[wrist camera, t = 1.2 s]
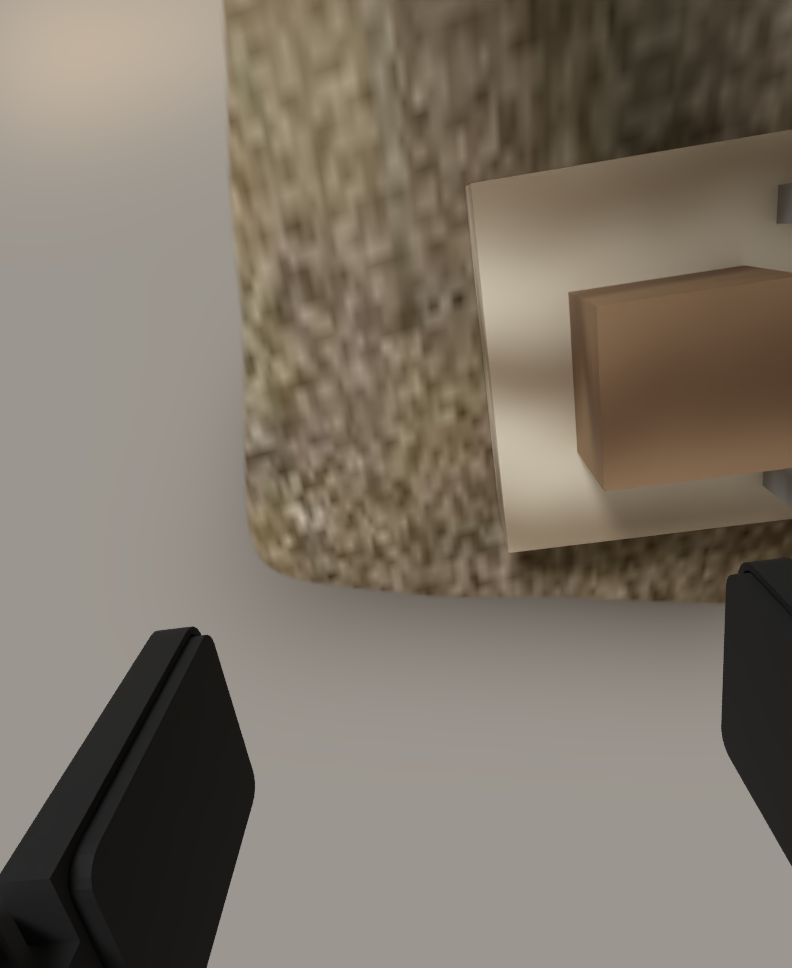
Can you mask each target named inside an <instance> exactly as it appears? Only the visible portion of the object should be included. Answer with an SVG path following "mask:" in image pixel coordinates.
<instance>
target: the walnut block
mask: <svg viewBox="0 0 792 968" xmlns="http://www.w3.org/2000/svg"><path fill="white" fill-rule="evenodd" d="M568 296H569V313H570V331H571V349H572V367H573V384H574V402H575V420H576V438H577V452H578V454H579V455H580V457H581V458H582V460H583V461H584V463H585V464H586V465H587V467H588V468H589V470H590V471H591V473H592V474H593V476H594V477H595V479H596V480H597V482H598V483H599V485H600V486H601V488H602V489H603V491H604V492H606V491H614V490H622V489H629V488H637V487H645V486H653V485H661V484H669V483H677V482H685V481H693V480H701V479H708V478H716V477H724V476H732V475H740V474H748V473H756V472H764V471H772V470H779V469H787V468H792V272H785V271H778V270H772V269H765V268H759V267H752V266H745V265H743V266H737V267H730V268H724V269H717V270H710V271H704V272H697V273H691V274H684V275H678V276H671V277H665V278H658V279H651V280H645V281H638V282H632V283H625V284H619V285H612V286H605V287H599V288H592V289H586V290H579V291H573V292H568Z"/></svg>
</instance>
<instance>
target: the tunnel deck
mask: <svg viewBox="0 0 792 968" xmlns="http://www.w3.org/2000/svg"><path fill="white" fill-rule="evenodd" d="M465 193H466V203H467V212H468V222H469V231H470V241H471V250H472V260H473V269H474V279H475V288H476V298H477V307H478V317H479V326H480V336H481V345H482V354H483V364H484V373H485V383H486V392H487V402H488V411H489V421H490V430H491V440H492V449H493V459H494V468H495V478H496V487H497V497H498V506H499V515H500V523H501V527H502V531H503V534H504V538H505V542H506V545H507V549H508V553H512V552H521V551H529V550H537V549H545V548H554V547H562V546H570V545H579V544H587V543H595V542H604V541H612V540H620V539H628V538H637V537H645V536H653V535H662V534H670V533H678V532H687V531H695V530H703V529H711V528H720V527H728V526H736V525H745V524H753V523H761V522H770V521H778V520H786V519H792V468H787V469H779V470H772V471H764V472H756V473H748V474H740V475H732V476H724V477H716V478H708V479H701V480H693V481H685V482H677V483H669V484H661V485H653V486H645V487H637V488H629V489H622V490H614V491H606V492H604V491H603V489H602V488H601V486H600V485H599V483H598V482H597V480H596V479H595V477H594V476H593V474H592V473H591V471H590V470H589V468H588V467H587V465H586V464H585V463H584V461H583V460H582V458H581V457H580V455H579V454H578V452H577V438H576V420H575V402H574V384H573V367H572V349H571V331H570V313H569V296H568V292H573V291H579V290H586V289H592V288H599V287H605V286H612V285H619V284H625V283H632V282H638V281H645V280H651V279H658V278H665V277H671V276H678V275H684V274H691V273H697V272H704V271H710V270H717V269H724V268H730V267H737V266H743V265H745V266H752V267H759V268H765V269H772V270H778V271H785V272H792V129H791V130H785V131H779V132H773V133H767V134H761V135H755V136H749V137H743V138H737V139H731V140H726V141H720V142H714V143H708V144H702V145H696V146H690V147H684V148H678V149H672V150H666V151H660V152H654V153H648V154H642V155H636V156H630V157H624V158H618V159H612V160H607V161H601V162H595V163H589V164H583V165H577V166H571V167H565V168H559V169H553V170H547V171H541V172H535V173H529V174H523V175H517V176H511V177H505V178H499V179H493V180H488V181H482V182H476V183H470V184H469V185H467V186H466V187H465Z"/></svg>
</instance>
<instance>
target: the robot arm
mask: <svg viewBox="0 0 792 968" xmlns="http://www.w3.org/2000/svg"><path fill="white" fill-rule="evenodd" d="M721 729H722V737H723V742H724V745H725V748H726V751H727V753H728V755H729V757H730V759H731V761H732V763H733V764H734V766H735V768H736V770H737V771H738V773H739V775H740V777H741V778H742V780H743V782H744V784H745V785H746V787H747V789H748V791H749V792H750V794H751V796H752V798H753V799H754V801H755V803H756V805H757V806H758V808H759V810H760V811H761V813H762V815H763V817H764V819H765V820H766V822H767V824H768V825H769V827H770V829H771V831H772V832H773V834H774V836H775V838H776V840H777V841H778V843H779V845H780V846H781V848H782V850H783V852H784V853H785V855H786V857H787V859H788V860H789V862H790V864H791V866H792V560H791V559H790V558H780V559H772V560H763V561H754V562H746V563H743V564H742V565H741V566H740V569H739V572H738V574H734V575H730V576H729V577H728V579H727V583H726V605H725V634H724V664H723V693H722V725H721ZM254 792H255V780H254V774H253V770H252V766H251V763H250V760H249V757H248V753H247V750H246V747H245V743H244V740H243V737H242V734H241V730H240V727H239V724H238V720H237V717H236V714H235V710H234V707H233V704H232V700H231V697H230V694H229V691H228V687H227V684H226V681H225V678H224V674H223V671H222V668H221V665H220V661H219V658H218V654H217V651H216V648H215V644H214V642H213V640H212V638H211V637H210V636H209V635H202V636H201V633H200V632H199V630H198V629H197V628H195V627H186V628H177V629H168V630H160V631H156V632H154V633H153V634H152V635H151V637H150V638H149V640H148V641H147V643H146V645H145V646H144V648H143V649H142V651H141V652H140V654H139V655H138V657H137V659H136V660H135V662H134V663H133V665H132V667H131V668H130V670H129V671H128V673H127V675H126V676H125V678H124V679H123V681H122V682H121V684H120V685H119V687H118V689H117V690H116V692H115V694H114V695H113V697H112V698H111V700H110V701H109V703H108V704H107V706H106V708H105V709H104V711H103V712H102V714H101V715H100V717H99V719H98V721H97V722H96V723H95V725H94V727H93V728H92V730H91V731H90V733H89V735H88V736H87V738H86V739H85V741H84V743H83V744H82V746H81V747H80V749H79V750H78V752H77V754H76V755H75V756H74V758H73V760H72V762H71V763H70V764H69V766H68V768H67V769H66V771H65V772H64V774H63V776H62V777H61V779H60V780H59V782H58V783H57V785H56V786H55V788H54V790H53V791H52V793H51V794H50V796H49V798H48V799H47V801H46V802H45V804H44V805H43V807H42V809H41V810H40V812H39V813H38V815H37V817H36V818H35V820H34V821H33V823H32V824H31V826H30V828H29V829H28V831H27V833H26V834H25V836H24V837H23V839H22V840H21V842H20V843H19V845H18V847H17V848H16V850H15V851H14V853H13V854H12V856H11V858H10V859H9V861H8V862H7V864H6V865H5V867H4V869H3V870H2V872H1V874H0V968H207V964H208V960H209V956H210V953H211V949H212V946H213V943H214V939H215V935H216V932H217V928H218V925H219V921H220V918H221V914H222V911H223V907H224V903H225V900H226V896H227V893H228V889H229V885H230V882H231V878H232V875H233V871H234V868H235V864H236V861H237V857H238V854H239V850H240V846H241V843H242V839H243V836H244V832H245V828H246V825H247V821H248V818H249V814H250V811H251V807H252V804H253V799H254Z"/></svg>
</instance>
